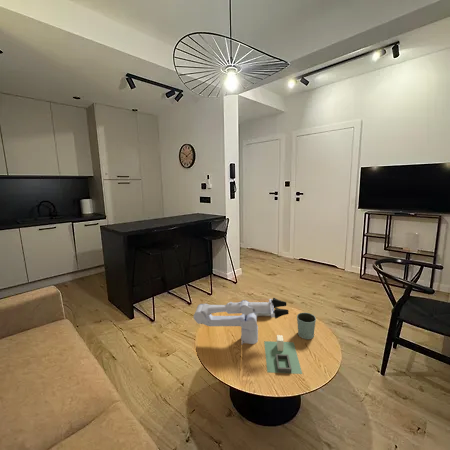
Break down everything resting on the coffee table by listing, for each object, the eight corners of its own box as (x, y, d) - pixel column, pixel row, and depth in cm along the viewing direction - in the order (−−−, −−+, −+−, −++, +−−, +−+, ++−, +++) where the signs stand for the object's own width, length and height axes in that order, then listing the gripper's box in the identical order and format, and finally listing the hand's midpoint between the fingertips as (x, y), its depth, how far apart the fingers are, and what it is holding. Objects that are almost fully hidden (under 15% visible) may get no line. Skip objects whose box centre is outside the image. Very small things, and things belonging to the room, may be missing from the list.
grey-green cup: (318, 335, 141) (319, 316, 138) (309, 344, 134) (310, 324, 131) (301, 328, 148) (302, 310, 145) (293, 336, 141) (293, 317, 139)
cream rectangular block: (277, 350, 128) (277, 340, 127) (276, 343, 134) (276, 334, 132) (283, 350, 128) (283, 340, 127) (282, 344, 133) (282, 334, 132)
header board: (267, 374, 115) (267, 368, 114) (264, 342, 136) (264, 338, 136) (302, 375, 113) (302, 370, 113) (293, 343, 135) (293, 338, 134)
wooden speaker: (274, 314, 164) (274, 302, 162) (274, 317, 161) (274, 305, 159) (251, 314, 164) (251, 303, 163) (251, 317, 161) (251, 305, 160)
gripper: (262, 308, 125) (289, 309, 124) (261, 294, 139) (285, 294, 138) (262, 320, 127) (289, 321, 125) (261, 305, 141) (285, 305, 139)
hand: (287, 307), depth 132 cm, fingers open, 7 cm apart
